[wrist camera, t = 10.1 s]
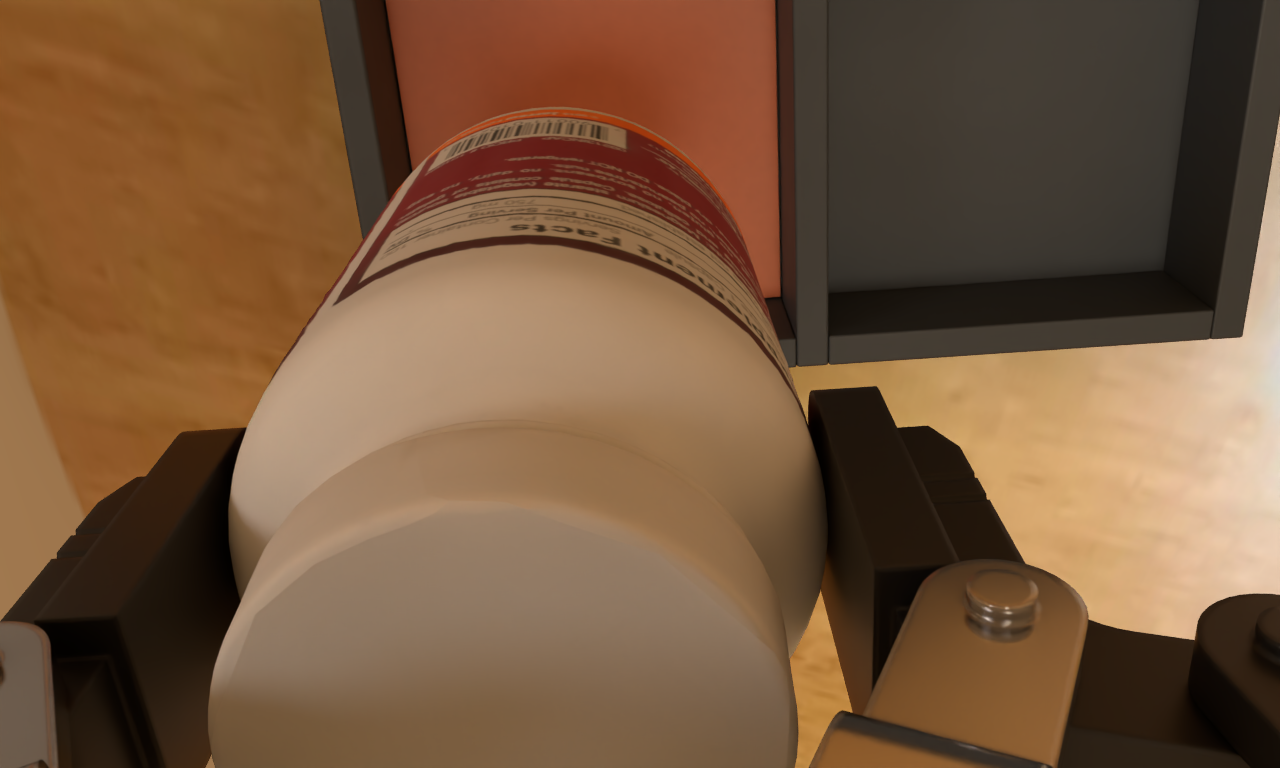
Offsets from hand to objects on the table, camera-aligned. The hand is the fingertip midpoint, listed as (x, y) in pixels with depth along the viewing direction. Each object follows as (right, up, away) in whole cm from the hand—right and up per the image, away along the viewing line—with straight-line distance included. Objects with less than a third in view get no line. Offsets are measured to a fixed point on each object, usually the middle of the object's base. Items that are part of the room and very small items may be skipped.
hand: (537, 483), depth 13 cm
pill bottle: (0, +3, +6) cm, 7 cm away
